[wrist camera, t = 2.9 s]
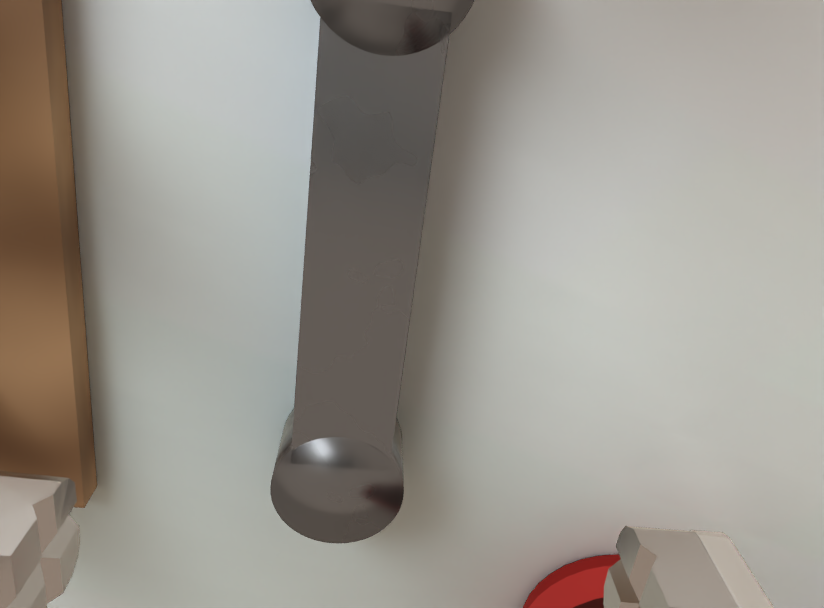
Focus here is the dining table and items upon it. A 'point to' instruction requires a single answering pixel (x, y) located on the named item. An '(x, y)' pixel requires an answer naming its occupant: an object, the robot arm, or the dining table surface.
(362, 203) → the metal bar
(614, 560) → the canned food
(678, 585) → the robot arm
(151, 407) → the dining table surface
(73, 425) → the spanner rest
